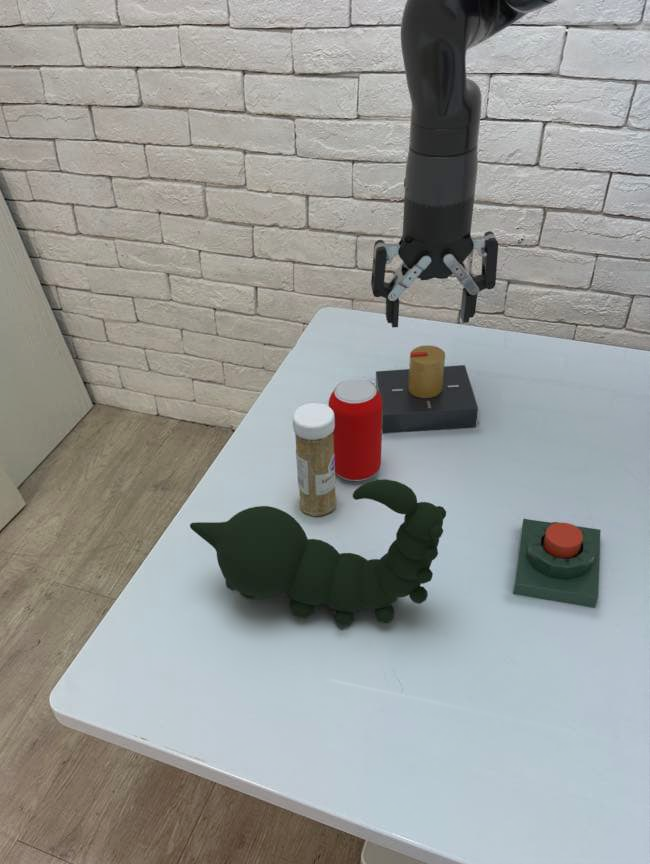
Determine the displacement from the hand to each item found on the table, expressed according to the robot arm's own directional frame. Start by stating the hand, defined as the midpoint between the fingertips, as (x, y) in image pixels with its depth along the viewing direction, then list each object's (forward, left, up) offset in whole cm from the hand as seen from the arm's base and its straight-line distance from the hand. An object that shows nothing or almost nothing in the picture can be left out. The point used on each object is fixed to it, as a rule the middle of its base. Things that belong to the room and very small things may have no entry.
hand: (429, 321), depth 99 cm
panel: (0, 0, -13) cm, 13 cm away
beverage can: (+10, +12, -13) cm, 20 cm away
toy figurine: (+16, +33, -13) cm, 39 cm away
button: (-10, +30, -10) cm, 33 cm away
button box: (-10, +30, -13) cm, 34 cm away
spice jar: (+15, +18, -13) cm, 27 cm away
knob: (0, 0, -10) cm, 10 cm away
